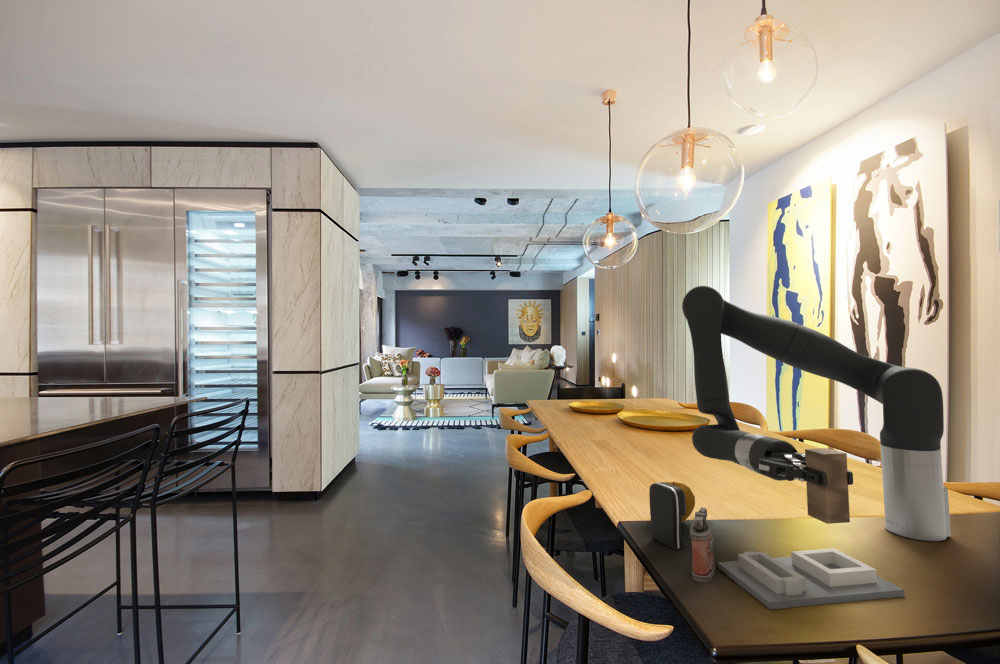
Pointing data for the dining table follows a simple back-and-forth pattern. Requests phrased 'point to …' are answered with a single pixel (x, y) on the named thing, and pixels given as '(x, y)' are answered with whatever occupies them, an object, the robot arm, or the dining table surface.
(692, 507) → the apple
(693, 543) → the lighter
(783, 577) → the holder board
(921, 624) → the dining table surface
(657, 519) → the battery charger
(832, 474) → the tall brown wooden block
